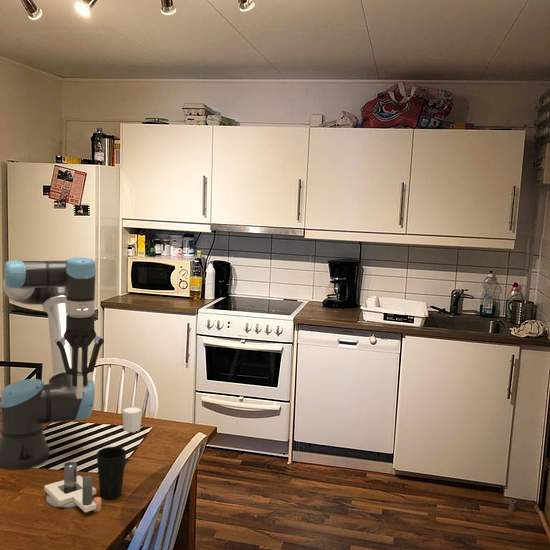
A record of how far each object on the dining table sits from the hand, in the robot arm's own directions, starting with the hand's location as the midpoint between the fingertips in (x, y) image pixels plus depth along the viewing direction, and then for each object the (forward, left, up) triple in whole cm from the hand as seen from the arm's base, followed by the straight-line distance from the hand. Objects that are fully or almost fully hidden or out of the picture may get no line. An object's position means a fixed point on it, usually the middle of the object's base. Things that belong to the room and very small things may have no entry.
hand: (79, 396), depth 168 cm
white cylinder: (-4, +37, -24) cm, 44 cm away
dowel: (+15, -13, -24) cm, 31 cm away
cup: (+14, -5, -24) cm, 28 cm away
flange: (+7, -11, -23) cm, 26 cm away
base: (+4, -10, -24) cm, 26 cm away
